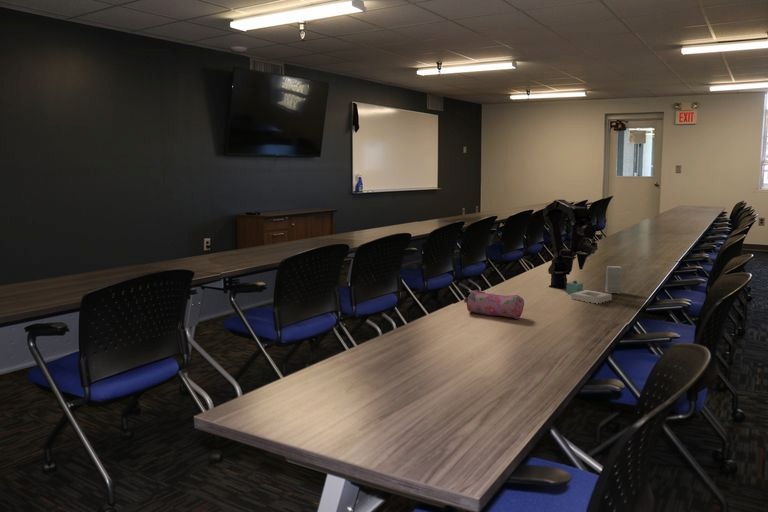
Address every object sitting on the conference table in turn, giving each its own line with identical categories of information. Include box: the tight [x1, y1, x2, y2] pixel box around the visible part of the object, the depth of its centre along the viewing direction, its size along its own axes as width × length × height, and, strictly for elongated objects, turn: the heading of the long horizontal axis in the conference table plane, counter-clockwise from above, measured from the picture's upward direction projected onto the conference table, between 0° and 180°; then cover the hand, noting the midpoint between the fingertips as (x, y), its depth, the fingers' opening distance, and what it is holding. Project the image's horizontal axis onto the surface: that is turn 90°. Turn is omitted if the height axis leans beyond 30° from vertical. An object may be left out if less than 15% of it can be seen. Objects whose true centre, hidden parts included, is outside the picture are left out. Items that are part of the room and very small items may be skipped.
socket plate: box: [570, 289, 613, 305], centre depth 260 cm, size 12×12×2 cm
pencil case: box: [463, 289, 525, 320], centre depth 230 cm, size 21×9×9 cm, turn 57°
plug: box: [565, 280, 584, 295], centre depth 271 cm, size 5×5×6 cm
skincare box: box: [604, 265, 623, 295], centre depth 274 cm, size 6×4×12 cm
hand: (575, 270), depth 270 cm, fingers open, 9 cm apart
